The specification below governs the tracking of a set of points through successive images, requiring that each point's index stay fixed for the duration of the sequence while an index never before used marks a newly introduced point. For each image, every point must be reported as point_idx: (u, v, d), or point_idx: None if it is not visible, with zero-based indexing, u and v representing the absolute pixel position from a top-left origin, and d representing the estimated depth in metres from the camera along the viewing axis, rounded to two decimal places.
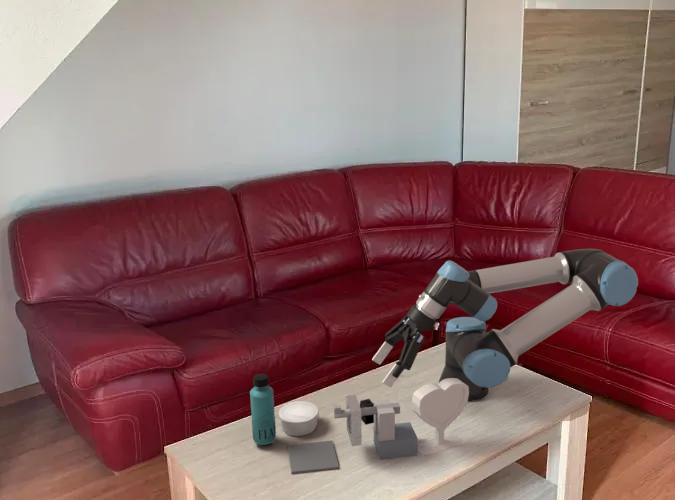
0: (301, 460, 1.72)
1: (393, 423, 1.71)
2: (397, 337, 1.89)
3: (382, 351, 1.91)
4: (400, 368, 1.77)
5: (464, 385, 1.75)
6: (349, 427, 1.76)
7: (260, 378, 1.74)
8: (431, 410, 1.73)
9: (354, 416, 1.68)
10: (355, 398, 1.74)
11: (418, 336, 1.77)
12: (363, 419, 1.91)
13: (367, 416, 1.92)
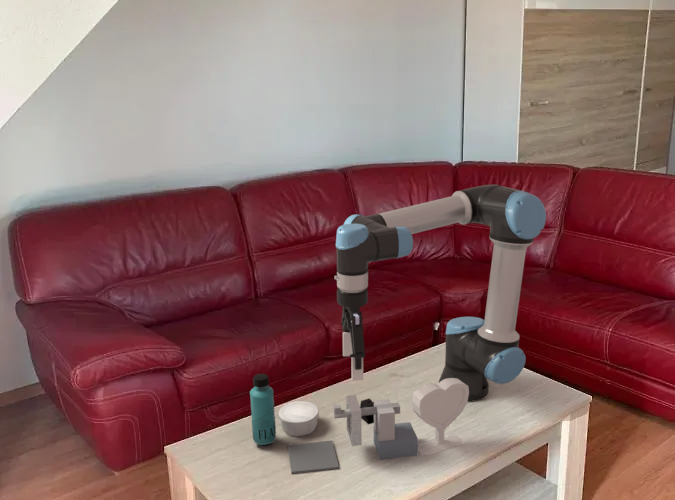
0: (301, 460, 1.72)
1: (393, 423, 1.71)
2: None
3: (346, 342, 1.74)
4: (357, 359, 1.59)
5: (464, 385, 1.75)
6: (349, 427, 1.76)
7: (260, 378, 1.74)
8: (431, 410, 1.73)
9: (354, 416, 1.68)
10: (355, 398, 1.74)
11: (353, 319, 1.58)
12: (365, 419, 1.91)
13: (369, 416, 1.92)
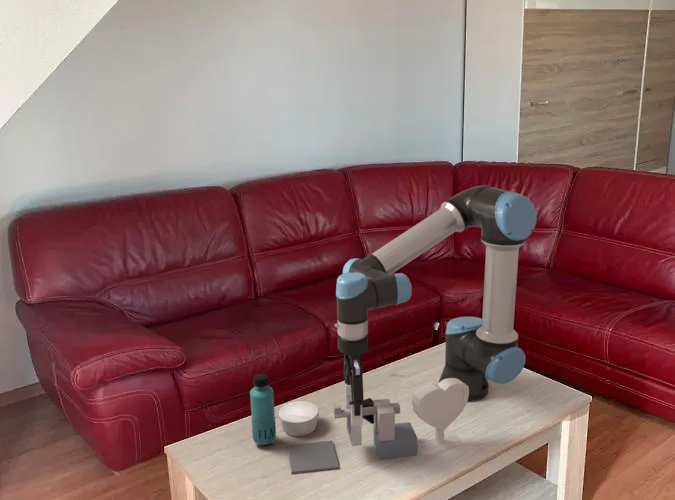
0: (301, 460, 1.72)
1: (393, 423, 1.71)
2: (350, 373, 1.72)
3: None
4: (356, 406, 1.65)
5: (464, 385, 1.75)
6: (349, 427, 1.76)
7: (260, 378, 1.74)
8: (431, 410, 1.73)
9: None
10: None
11: (354, 371, 1.61)
12: (367, 418, 1.91)
13: (371, 415, 1.92)
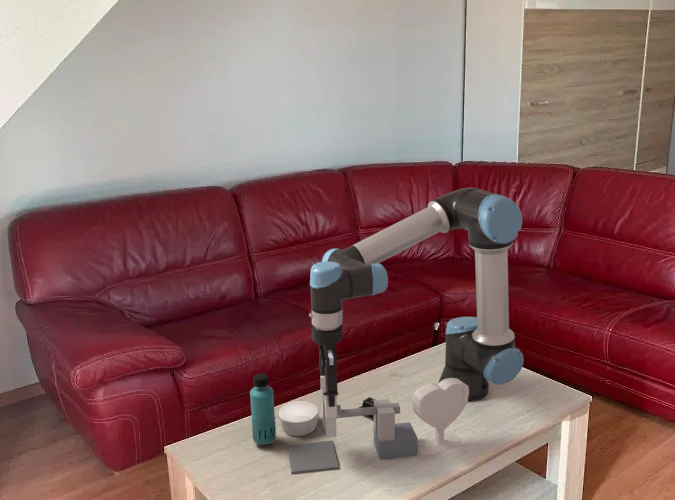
0: (301, 460, 1.72)
1: (393, 423, 1.71)
2: None
3: (324, 386, 1.73)
4: (330, 396, 1.63)
5: (464, 385, 1.75)
6: (324, 419, 1.74)
7: (260, 378, 1.74)
8: (431, 410, 1.73)
9: None
10: None
11: (328, 361, 1.59)
12: (371, 418, 1.92)
13: None
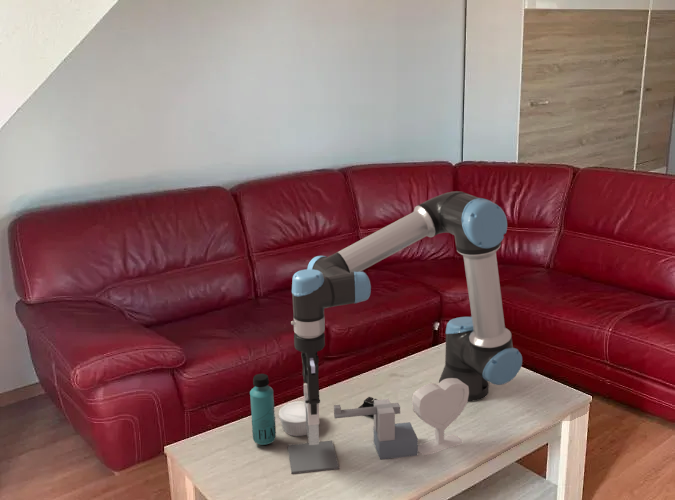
0: (301, 460, 1.72)
1: (393, 423, 1.71)
2: None
3: None
4: (312, 404, 1.63)
5: (464, 385, 1.75)
6: (308, 426, 1.74)
7: (260, 378, 1.74)
8: (431, 410, 1.73)
9: None
10: None
11: (309, 369, 1.59)
12: (373, 417, 1.92)
13: None
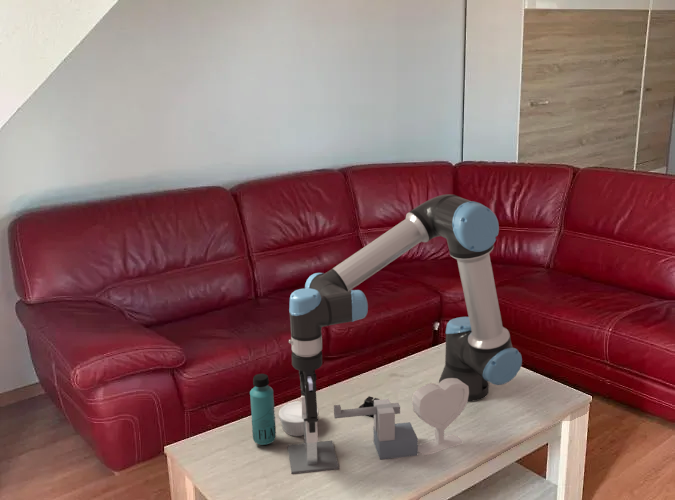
0: (301, 460, 1.72)
1: (393, 423, 1.71)
2: None
3: (305, 406, 1.76)
4: (310, 423, 1.63)
5: (464, 385, 1.75)
6: (306, 445, 1.75)
7: (260, 378, 1.74)
8: (431, 410, 1.73)
9: None
10: None
11: (307, 386, 1.61)
12: None
13: None
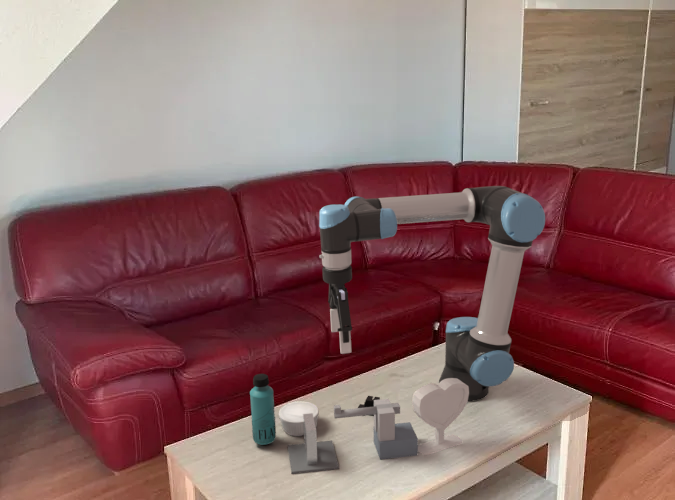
0: (301, 460, 1.72)
1: (393, 423, 1.71)
2: None
3: (334, 319, 1.82)
4: (344, 332, 1.67)
5: (464, 385, 1.75)
6: (306, 445, 1.75)
7: (260, 378, 1.74)
8: (431, 410, 1.73)
9: (309, 435, 1.68)
10: (311, 417, 1.73)
11: (339, 295, 1.66)
12: None
13: None
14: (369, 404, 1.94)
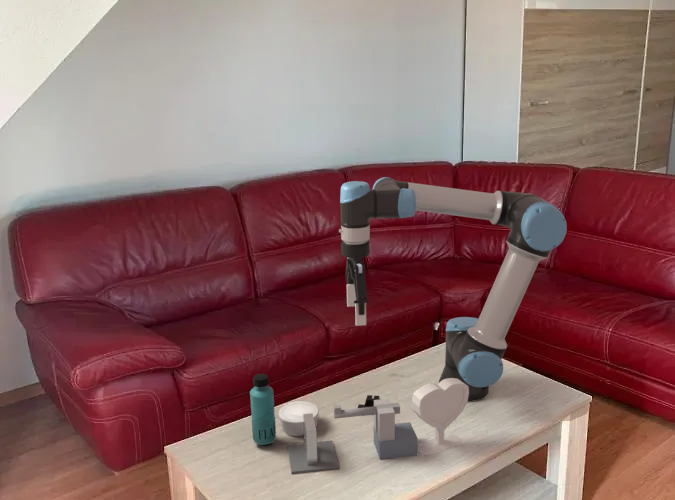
0: (301, 460, 1.72)
1: (393, 423, 1.71)
2: None
3: (350, 294, 1.88)
4: (360, 305, 1.73)
5: (464, 385, 1.75)
6: (306, 445, 1.75)
7: (260, 378, 1.75)
8: (431, 410, 1.73)
9: (309, 435, 1.68)
10: (311, 417, 1.73)
11: (357, 268, 1.72)
12: None
13: None
14: (370, 403, 1.94)
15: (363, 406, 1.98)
